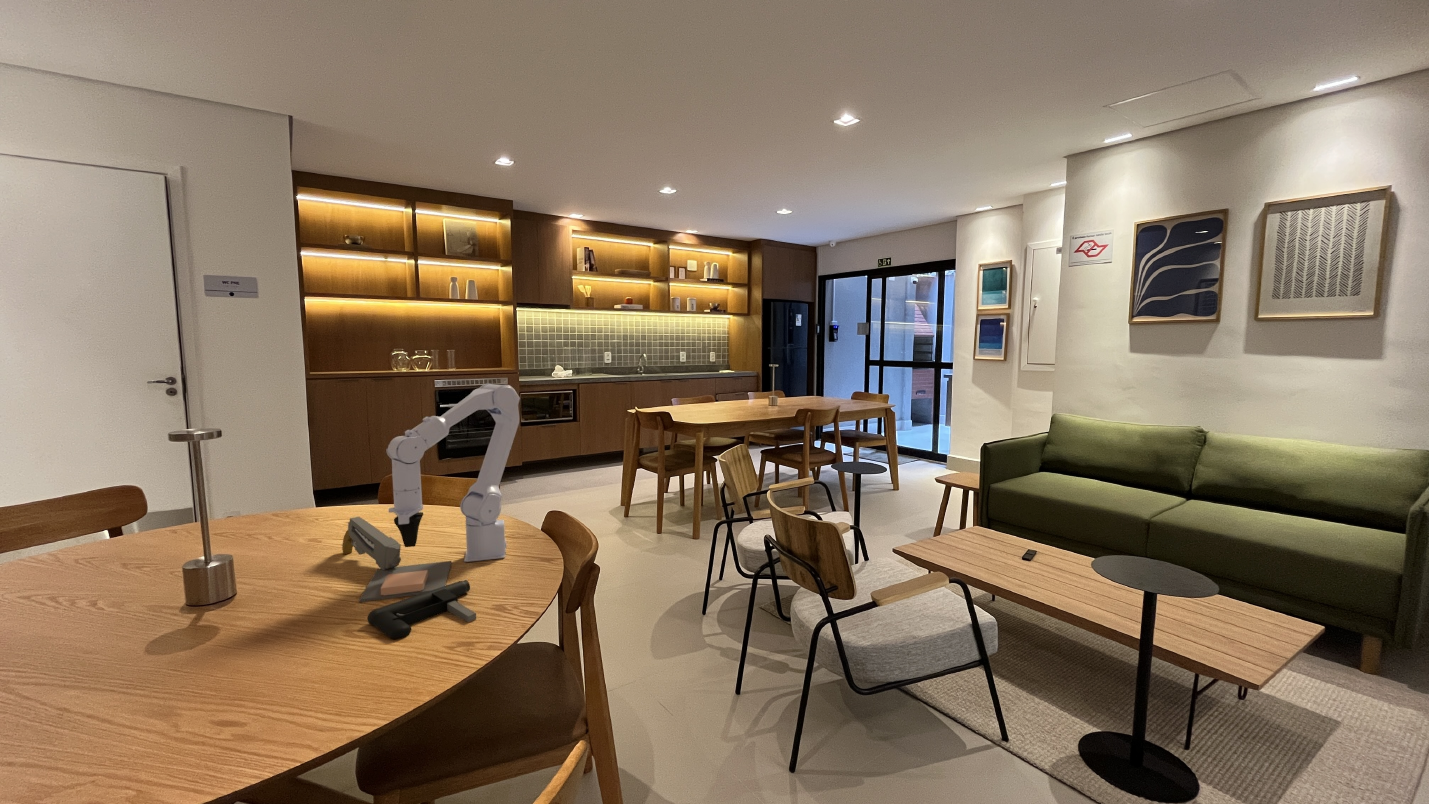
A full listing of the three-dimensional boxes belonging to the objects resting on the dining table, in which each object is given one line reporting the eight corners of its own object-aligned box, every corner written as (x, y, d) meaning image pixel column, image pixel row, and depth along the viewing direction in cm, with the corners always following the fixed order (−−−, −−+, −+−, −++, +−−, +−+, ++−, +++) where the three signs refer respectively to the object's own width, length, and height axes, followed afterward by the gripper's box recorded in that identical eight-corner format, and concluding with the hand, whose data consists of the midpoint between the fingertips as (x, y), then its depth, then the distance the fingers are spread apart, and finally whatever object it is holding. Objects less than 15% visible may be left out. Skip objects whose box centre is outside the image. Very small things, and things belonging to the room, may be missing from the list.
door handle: (503, 599, 118) (460, 575, 128) (401, 637, 103) (361, 608, 112) (503, 614, 119) (460, 590, 128) (401, 655, 103) (362, 624, 113)
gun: (382, 604, 139) (392, 550, 135) (335, 550, 151) (343, 499, 147) (395, 600, 141) (405, 547, 137) (348, 546, 154) (356, 497, 150)
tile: (427, 570, 133) (422, 583, 125) (428, 577, 133) (423, 591, 126) (388, 574, 130) (380, 588, 123) (388, 582, 131) (381, 596, 123)
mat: (451, 563, 144) (451, 560, 144) (443, 591, 127) (443, 589, 127) (377, 571, 139) (377, 568, 139) (359, 602, 122) (359, 599, 122)
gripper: (393, 482, 140) (396, 538, 141) (381, 497, 126) (384, 558, 127) (426, 480, 142) (428, 535, 143) (417, 494, 128) (420, 554, 130)
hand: (410, 545), depth 135 cm, fingers closed
